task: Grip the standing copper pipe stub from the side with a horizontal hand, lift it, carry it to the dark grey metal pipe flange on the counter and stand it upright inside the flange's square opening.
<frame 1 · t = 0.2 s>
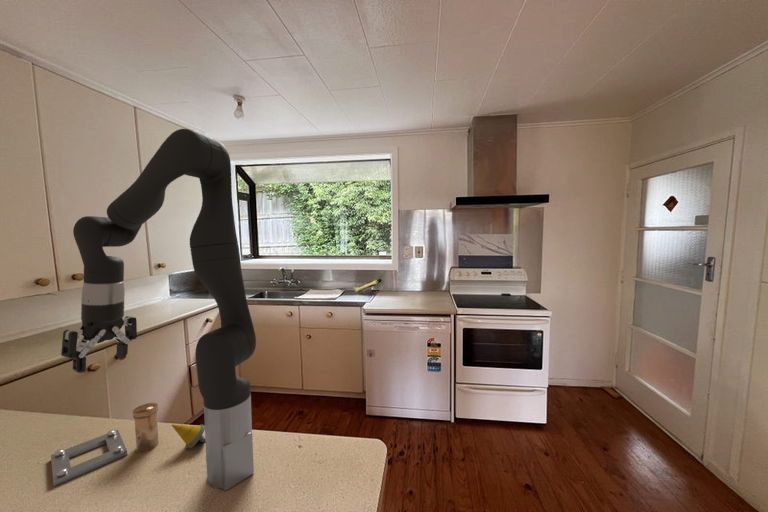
hand: (102, 364, 72), 22 cm above the countertop, fingers open, 8 cm apart
pipe stub: (147, 445, 75), on the countertop
drill bit: (191, 447, 75), on the countertop
flange: (89, 457, 71), on the countertop
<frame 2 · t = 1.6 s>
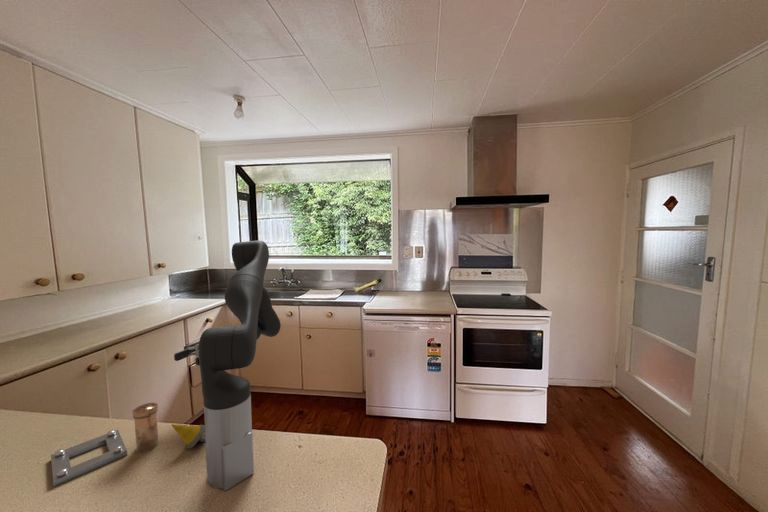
hand: (185, 359, 84), 18 cm above the countertop, fingers open, 8 cm apart
nothing on the countertop moved.
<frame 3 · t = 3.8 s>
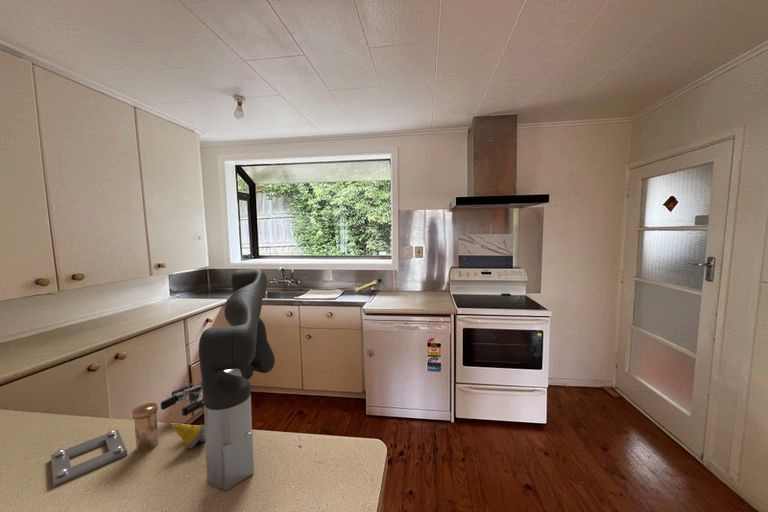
hand: (172, 409, 80), 6 cm above the countertop, fingers open, 8 cm apart
nothing on the countertop moved.
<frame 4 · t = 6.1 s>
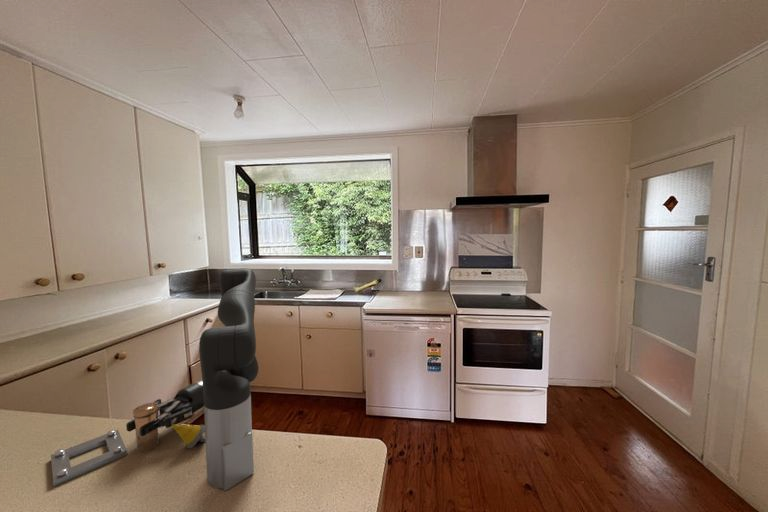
hand: (134, 429, 72), 6 cm above the countertop, fingers closed on pipe stub, 4 cm apart
pipe stub: (147, 445, 75), on the countertop, touching gripper
everything else where it was.
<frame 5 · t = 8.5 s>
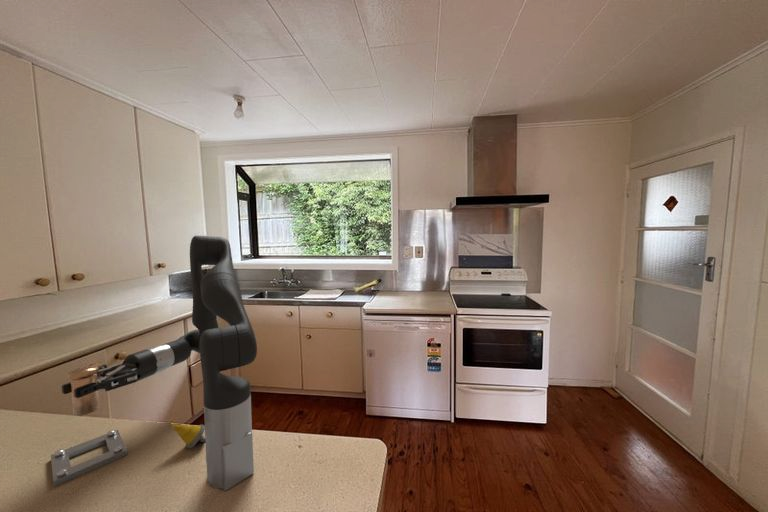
hand: (69, 391, 68), 18 cm above the countertop, fingers closed on pipe stub, 4 cm apart
pipe stub: (86, 410, 71), point 12 cm above the countertop, touching gripper
everything else where it was.
when the fingers open (7 cm above the countertop, at t = 11.2 s): pipe stub drops 1 cm, resting in flange.
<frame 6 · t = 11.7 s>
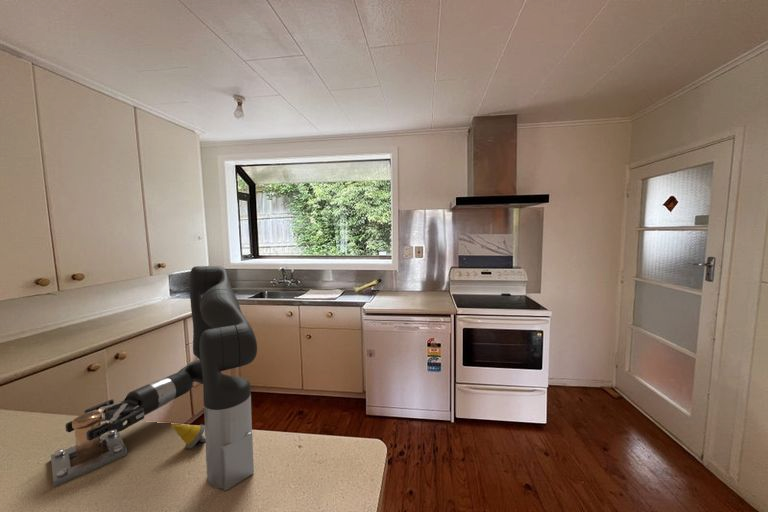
hand: (76, 432, 69), 8 cm above the countertop, fingers open, 8 cm apart
pipe stub: (90, 457, 71), resting in flange
everything else where it was.
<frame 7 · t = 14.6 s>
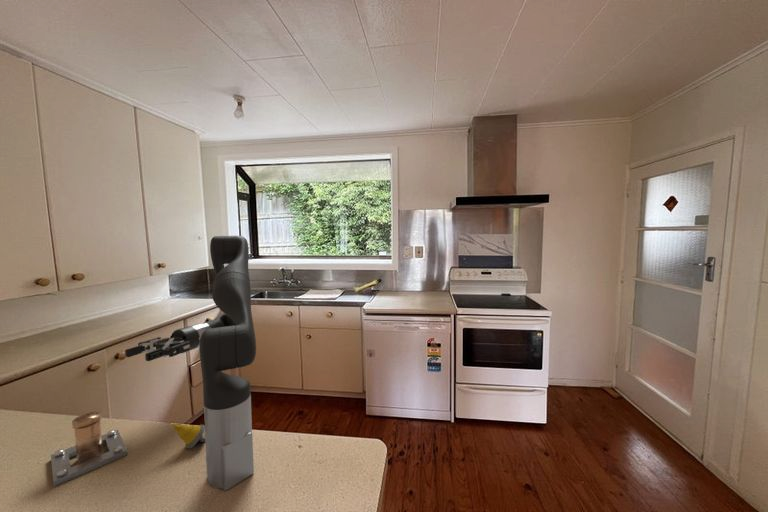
hand: (135, 355, 80), 21 cm above the countertop, fingers open, 8 cm apart
nothing on the countertop moved.
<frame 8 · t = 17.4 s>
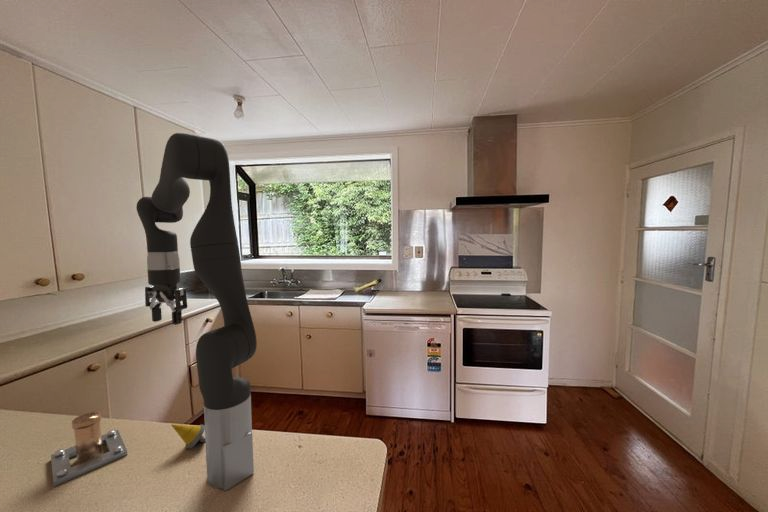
hand: (167, 322, 86), 28 cm above the countertop, fingers open, 8 cm apart
nothing on the countertop moved.
at the end: pipe stub 0.1 cm off-centre on the flange, point 0.0 cm above the flange's base; pipe stub tilted 1°; the gripper is holding nothing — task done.
